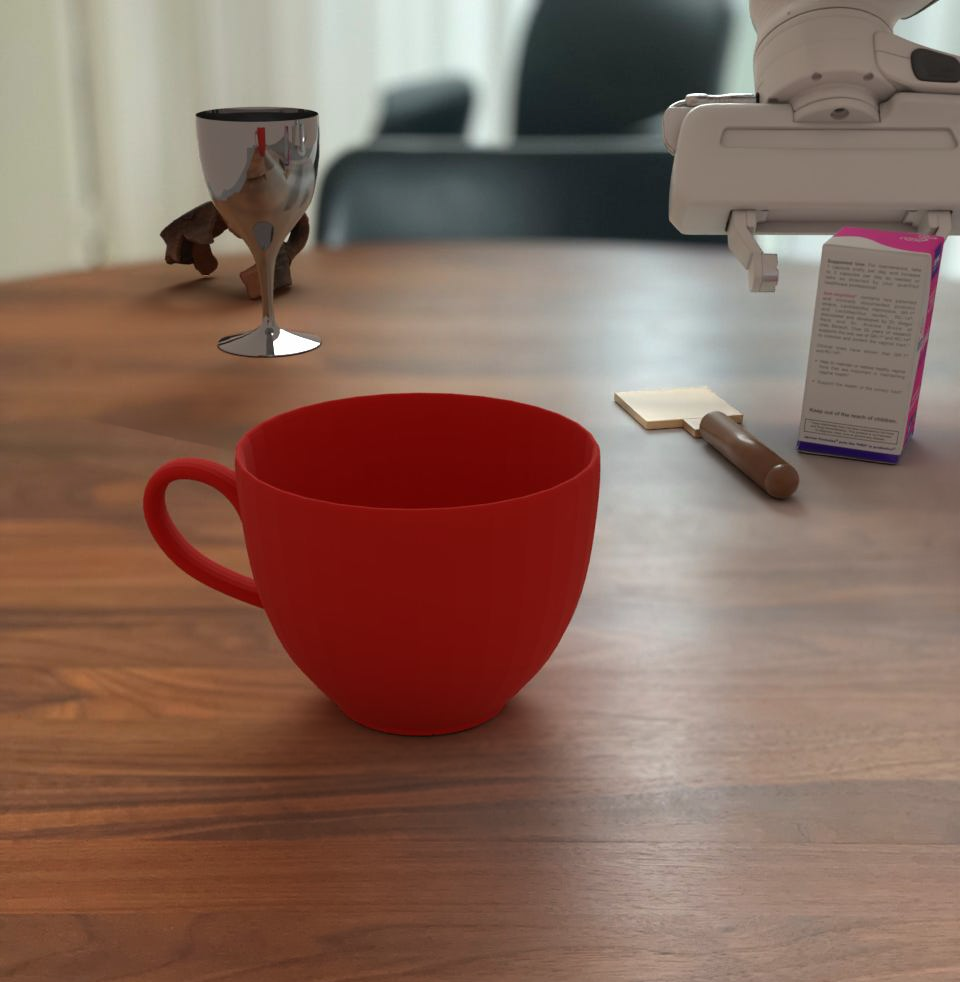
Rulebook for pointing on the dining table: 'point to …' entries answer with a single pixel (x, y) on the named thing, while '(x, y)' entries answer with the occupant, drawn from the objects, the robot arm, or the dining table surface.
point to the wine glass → (261, 199)
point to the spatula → (712, 431)
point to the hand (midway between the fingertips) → (843, 288)
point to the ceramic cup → (406, 547)
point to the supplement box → (868, 343)
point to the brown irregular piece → (205, 223)
